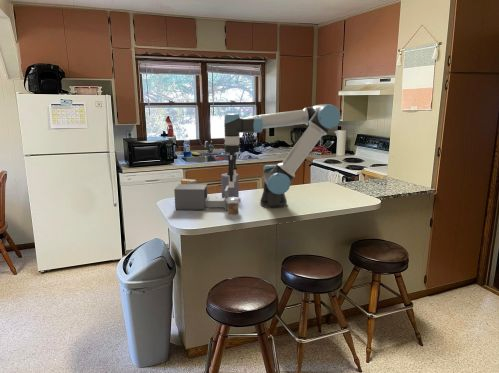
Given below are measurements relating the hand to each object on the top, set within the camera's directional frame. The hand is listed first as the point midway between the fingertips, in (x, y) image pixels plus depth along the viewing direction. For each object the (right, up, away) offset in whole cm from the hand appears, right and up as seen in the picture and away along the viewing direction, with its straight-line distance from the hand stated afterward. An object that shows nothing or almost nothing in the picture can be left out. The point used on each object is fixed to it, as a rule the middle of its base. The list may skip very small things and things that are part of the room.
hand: (232, 184), depth 199 cm
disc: (0, -9, +2) cm, 9 cm away
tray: (-11, -13, +13) cm, 21 cm away
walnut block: (0, -15, +4) cm, 15 cm away
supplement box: (-27, -10, +26) cm, 39 cm away
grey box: (-23, -13, +13) cm, 30 cm away
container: (-3, -9, +31) cm, 32 cm away
